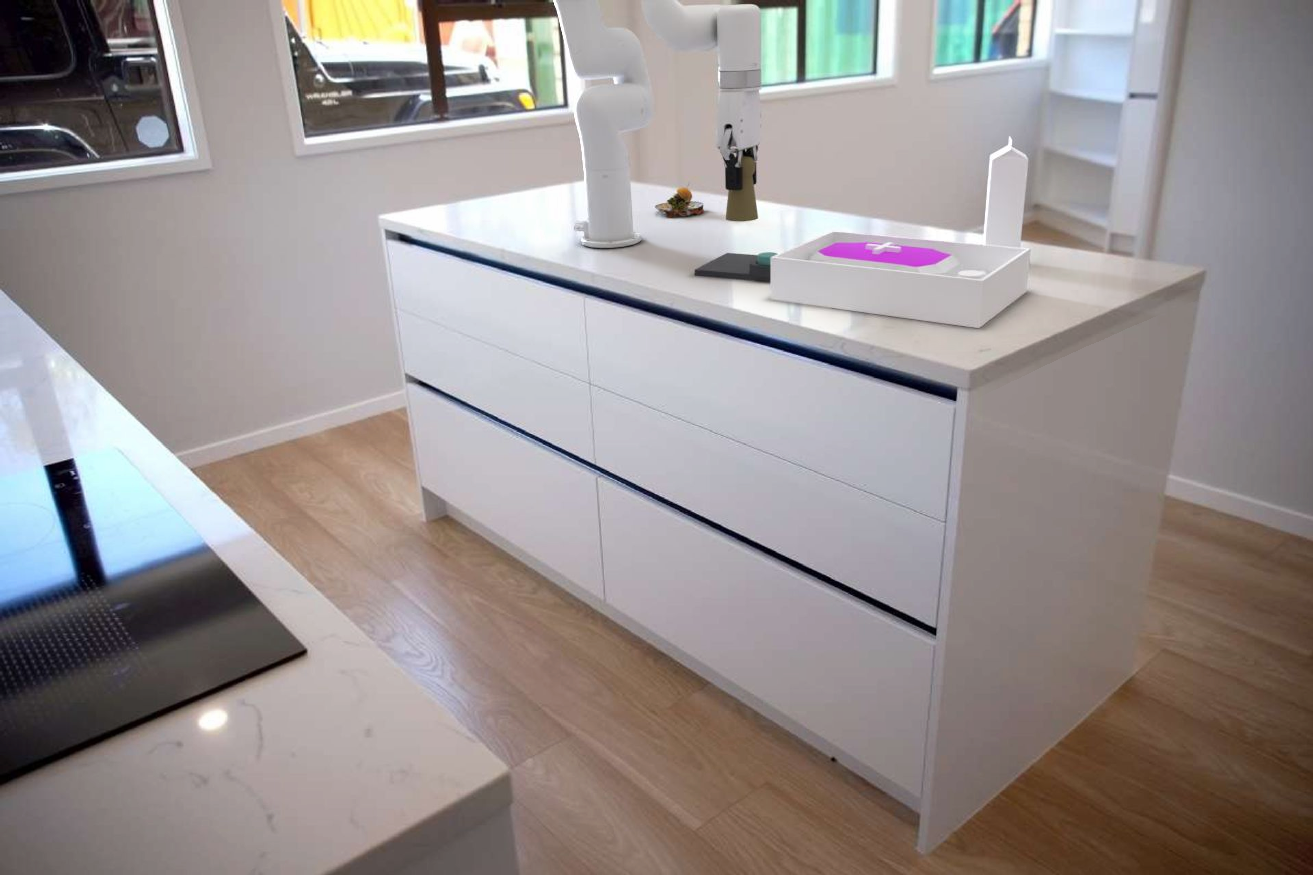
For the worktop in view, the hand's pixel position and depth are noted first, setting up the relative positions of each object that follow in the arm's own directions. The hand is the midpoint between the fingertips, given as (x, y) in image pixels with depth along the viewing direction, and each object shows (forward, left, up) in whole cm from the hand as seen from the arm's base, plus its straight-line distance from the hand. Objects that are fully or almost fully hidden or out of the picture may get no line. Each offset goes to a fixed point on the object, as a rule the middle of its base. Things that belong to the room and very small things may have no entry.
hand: (741, 186), depth 181 cm
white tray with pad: (+32, -10, -15) cm, 37 cm away
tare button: (+8, -7, -12) cm, 16 cm away
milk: (+43, +16, -15) cm, 49 cm away
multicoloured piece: (-37, +44, -15) cm, 59 cm away
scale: (+2, -2, -15) cm, 15 cm away
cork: (0, 0, -6) cm, 6 cm away
